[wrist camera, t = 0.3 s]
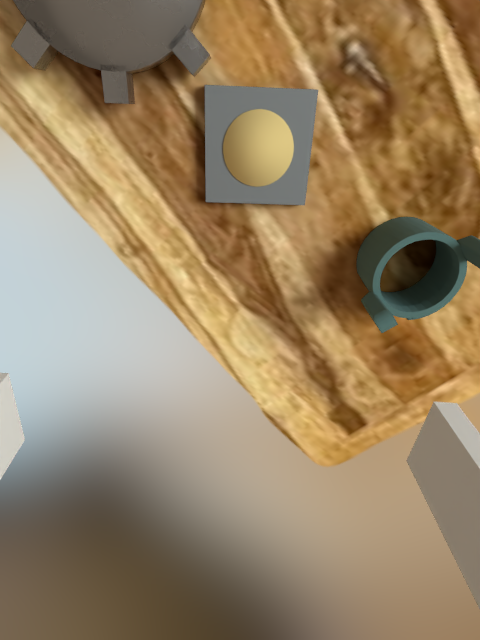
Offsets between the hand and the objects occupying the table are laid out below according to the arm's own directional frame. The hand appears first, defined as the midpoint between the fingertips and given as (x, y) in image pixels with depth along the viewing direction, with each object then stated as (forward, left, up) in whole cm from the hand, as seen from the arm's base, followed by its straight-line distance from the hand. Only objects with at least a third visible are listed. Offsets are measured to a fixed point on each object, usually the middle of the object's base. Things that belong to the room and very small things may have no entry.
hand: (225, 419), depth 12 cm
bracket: (+4, +17, -27) cm, 33 cm away
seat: (-6, +2, -27) cm, 28 cm away
